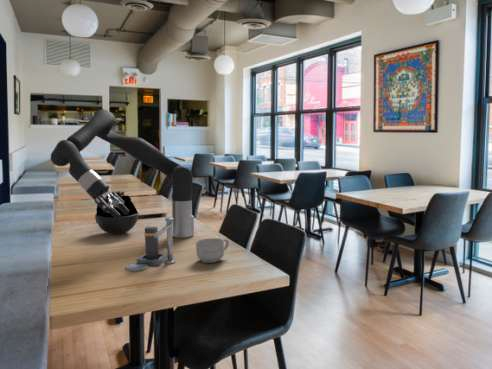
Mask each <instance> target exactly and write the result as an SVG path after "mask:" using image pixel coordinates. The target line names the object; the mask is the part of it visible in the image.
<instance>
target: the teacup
mask: <svg viewBox="0 0 492 369" xmlns="http://www.w3.org/2000/svg"><path fill="white" fill-rule="evenodd" d="M224 242H225V243H224ZM229 245H230V241H229V240H228V239H227V238H222V239H221V238H216V237H212V238H211V237H210V238H201V239H198V240H196V241H195V246H196V247H195V248H196V256H197V259H199V260H200V261H201V262H202V263H204V264H205V263H206V264H213V263H218V262H219V261H221V259H223V257H224V255H225V254H224V253H225V251H226V250H227V249H228V248H229Z"/></svg>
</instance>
